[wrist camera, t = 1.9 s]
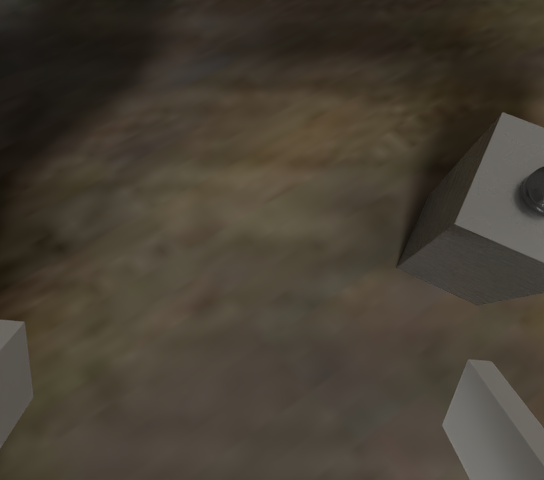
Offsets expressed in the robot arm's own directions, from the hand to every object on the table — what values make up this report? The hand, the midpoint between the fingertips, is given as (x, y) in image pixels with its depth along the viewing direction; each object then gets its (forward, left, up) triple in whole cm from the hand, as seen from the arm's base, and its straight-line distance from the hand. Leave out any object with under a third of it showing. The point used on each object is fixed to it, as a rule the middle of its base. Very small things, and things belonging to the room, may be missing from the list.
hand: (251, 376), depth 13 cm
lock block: (+9, +14, -22) cm, 28 cm away
